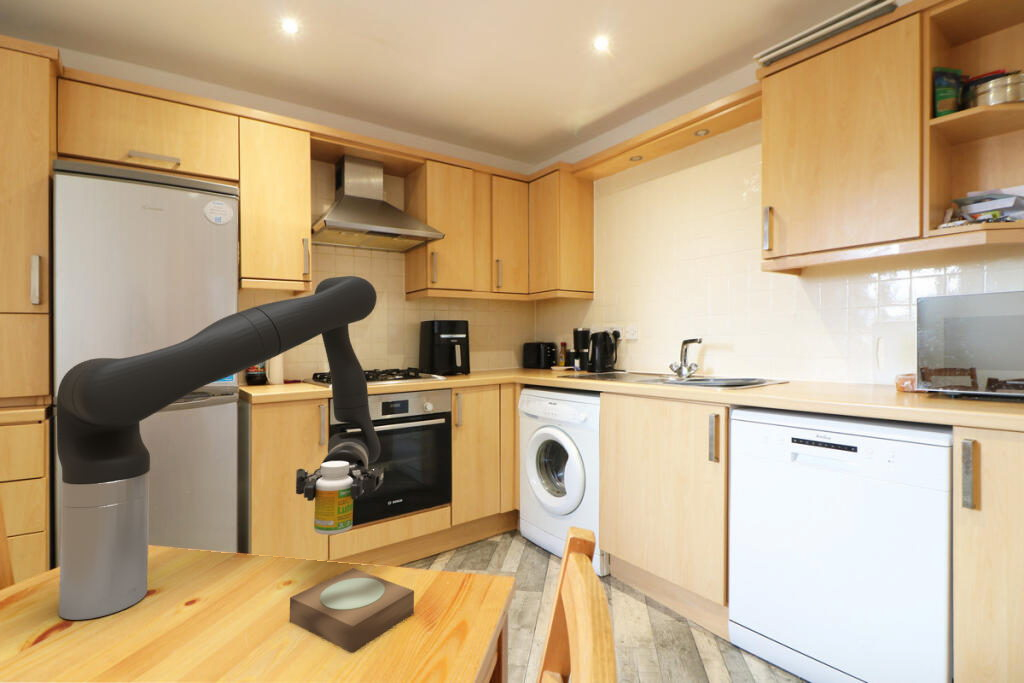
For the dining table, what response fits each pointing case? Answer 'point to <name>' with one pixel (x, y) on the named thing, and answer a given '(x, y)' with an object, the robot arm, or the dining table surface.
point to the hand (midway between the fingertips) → (332, 492)
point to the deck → (351, 608)
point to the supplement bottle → (333, 499)
